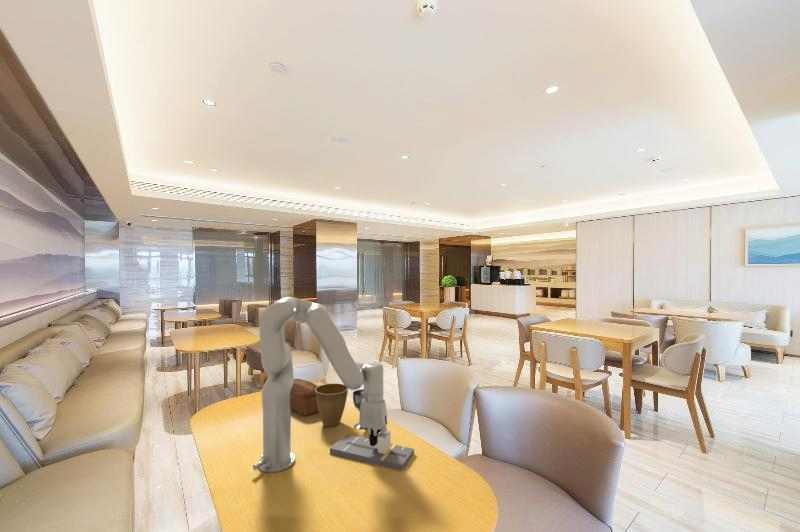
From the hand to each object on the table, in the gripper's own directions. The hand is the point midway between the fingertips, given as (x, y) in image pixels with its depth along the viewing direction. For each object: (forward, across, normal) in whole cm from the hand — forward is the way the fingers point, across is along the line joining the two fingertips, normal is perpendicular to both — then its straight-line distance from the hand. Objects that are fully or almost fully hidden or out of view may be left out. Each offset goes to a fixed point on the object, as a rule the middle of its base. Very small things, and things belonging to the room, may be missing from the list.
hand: (373, 444), depth 133 cm
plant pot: (+4, -30, +16) cm, 34 cm away
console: (+4, -1, 0) cm, 4 cm away
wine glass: (+4, -16, +19) cm, 25 cm away
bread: (+4, -55, +26) cm, 61 cm away
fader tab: (+1, +4, 0) cm, 5 cm away
